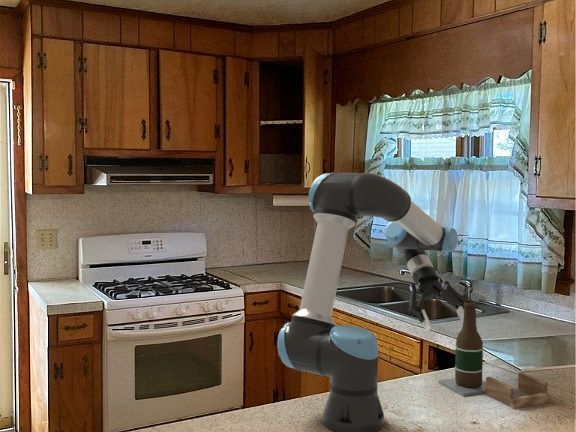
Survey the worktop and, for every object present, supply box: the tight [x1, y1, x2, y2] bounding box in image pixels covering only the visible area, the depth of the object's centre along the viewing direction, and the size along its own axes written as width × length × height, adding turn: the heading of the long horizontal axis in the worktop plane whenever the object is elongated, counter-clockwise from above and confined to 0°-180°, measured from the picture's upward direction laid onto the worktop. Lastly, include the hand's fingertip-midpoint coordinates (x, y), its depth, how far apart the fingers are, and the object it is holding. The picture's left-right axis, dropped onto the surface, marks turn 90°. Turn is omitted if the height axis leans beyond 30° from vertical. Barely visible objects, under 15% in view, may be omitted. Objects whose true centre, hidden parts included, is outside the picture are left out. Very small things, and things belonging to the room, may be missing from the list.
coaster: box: [438, 377, 486, 397], centre depth 183 cm, size 12×12×1 cm
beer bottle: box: [454, 301, 484, 388], centre depth 182 cm, size 8×8×24 cm
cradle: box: [485, 371, 551, 409], centre depth 173 cm, size 12×11×5 cm
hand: (448, 328), depth 191 cm, fingers open, 13 cm apart
